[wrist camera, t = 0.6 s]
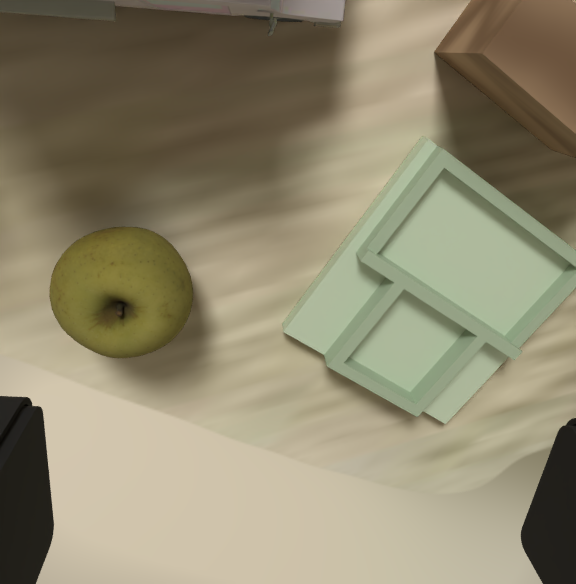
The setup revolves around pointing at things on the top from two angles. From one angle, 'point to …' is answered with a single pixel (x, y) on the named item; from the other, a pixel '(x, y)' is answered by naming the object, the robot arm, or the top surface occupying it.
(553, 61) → the brown cuboid brick
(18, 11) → the toy vehicle
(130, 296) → the apple
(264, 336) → the top surface
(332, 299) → the jig
